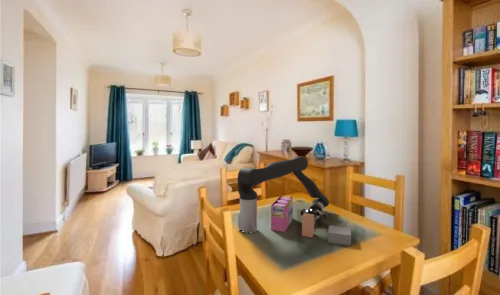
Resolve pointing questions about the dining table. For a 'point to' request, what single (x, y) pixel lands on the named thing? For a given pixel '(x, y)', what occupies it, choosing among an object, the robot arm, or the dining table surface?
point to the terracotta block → (308, 225)
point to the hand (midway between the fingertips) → (311, 217)
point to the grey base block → (339, 235)
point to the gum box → (281, 213)
